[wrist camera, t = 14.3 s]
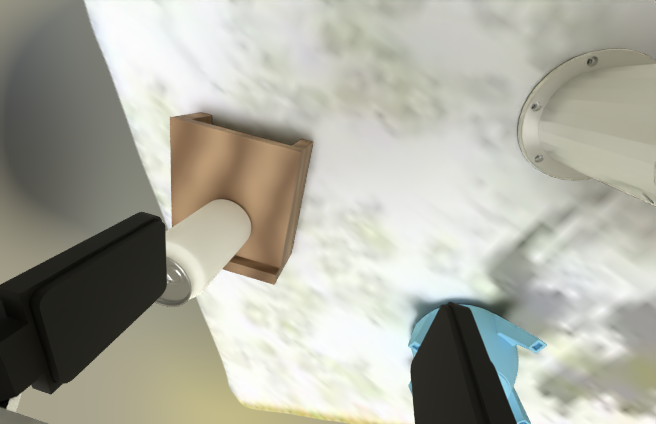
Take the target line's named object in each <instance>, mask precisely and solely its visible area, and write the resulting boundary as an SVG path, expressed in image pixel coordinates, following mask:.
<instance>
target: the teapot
mask: <svg viewBox="0 0 656 424" xmlns="http://www.w3.org/2000/svg"><path fill="white" fill-rule="evenodd" d="M459 305H463V304H459ZM463 306H466V307H469V308H470V309H471V311H472V314H473V316H474V319H475V321H476V324H477V327H478V329H479V332H480V334H481V337H482V340H483V342H484V345H485V348H486V350H487V353H488V355H489V358H490V361H491V362H492V363H493V365H494V366H495V368H496V371H497V373H498V376H499V379H500V381H501V384H502V386H503V389H504V391H505V394H506V397H507V399H508V402H509V404H510V407H511V409H512V412H513V414H514V417H515V420H516V422H517V424H531V422H530V420H529V418H528V416H527V414H526V412H525V410H524V408H523V406H522V403H521V401H520V399H519V397H518V395H517V393H516V391H515V389H514V387H513V386H514V383H515V380H516V376H517V371H518V352H517V346H516V345H519V346H522V347H524V348H527V349H529V350H532V351H533V352H535V353H538V352H539V351H540V350H541V349H543V348H544V347H545V346H547V345H546V343H544V342H543V341H541V340H540V339H539V338H537V337H535V336H533V335H532V334H530V333H528V332H526V331H525V330H523V329H521V328H519V327H517V326H516V325H514V324H512V323H510V322H508V321H507V320H505V319H503V318H501V317H500V316H498V315H496V314H493V313H491V312H489V311H488V310H485V309H482V308H479V307H476V306H471V305H463ZM438 310H439V308H437V309H435V310H433V311H431V312H430V313H428V314H427V315H425V316H424V317H423V318H422V319H421V320H420V321H419V322H418V323H416V326H415V328H414V330H413V332H412V336H411V339H410V342H409V344H408V347H410V348H411V349H412V353H413V356H414V357H415V355H416V353H417V351H418V349H419V347H420V345H421V343H422V341H423V339H424V337H425V335H426V333H427V332H428V330H429V328H430V326H431V324H432V322H433V320H434V318H435V316H436V314H437V312H438ZM409 388H410V391H411V393H412V384H411V382H410V384H409Z"/></svg>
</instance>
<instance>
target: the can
mask: <svg viewBox="0 0 656 424" xmlns="http://www.w3.org/2000/svg"><path fill="white" fill-rule="evenodd" d="M165 234H166V268H167V287H166V290H165V292H164V293H163V294H162V296H161V297H159V298H158V299H157V300H156V301H155V303H157V304H160V305H163V306H167V307H177V306H181V305H183V304H185V303H186V302H187V301H188V300H189V299H192V298H194V297H196V296H197V295H199V294H200V293H201V292H202V291H203V290H204V289H205V288H206V287H207V286H208V285H209V283H210V282H211V281H212V280H213V279H214V278H215V277H216V276H217V274H218V273H219V272H220V271H221V270H222V269H223V268H224V266H225V265H226V264H227V263H228V262H229V261H230V260H231V259H232V257H233V256H234V255H235V254H236V253H237V252H238V251H239V249H240V248H241V247H242V246H243V245H244V244H245V242H246V241H247V240H248V238H249V237H250V234H251V221H250V219H249V217H248V215H247V214H246V212H245V211H244V210H243V209H242V208H241V207H240V206H239V205H238V204H236V203H234V202H232V201H229V200H225V199H217V200H214V201H211V202H210V203H208V204H206V205H205V206H203V207H202V208H200V209H199V210H197V211H196V212H194V213H193V214H191V215H190V216H188V217H187V218H185V219H184V220H182V221H181V222H179V223H178V224H176V225H175V226H173V227H172V228H171V229H169V230H168V231H166V232H165Z"/></svg>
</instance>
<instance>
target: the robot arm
mask: <svg viewBox="0 0 656 424" xmlns="http://www.w3.org/2000/svg"><path fill="white" fill-rule="evenodd" d="M588 60H589V63H588V64H587V61H588ZM533 104H535V107H534V108H533V109H532V105H533ZM518 141H519V145H520V148H521V151H522V153H523V154H524V156H525V158H526V159H527V161H528V162H529V163H530V164H531V165H532V166H533V167H535V168H536V169H538V170H539V171H541V172H543V173H545V174H547V175H549V176H551V177H555V178H559V179H564V180H583V179H590V178H594V179H596V180H598V181H600V182H602V183H605V184H607V185H609V186H611V187H614V188H616V189H618V190H620V191H622V192H625V193H627V194H629V195H631V196H634V197H636V198H638V199H640V200H642V201H645V202H647V203H649V204H651V205H654V206H656V61H655V60H653V59H652V58H650V57H649V56H647V55H646V54H643V53H640V52H637V51H634V50H628V49H619V48H618V49H605V50H599V51H594V52H589V53H586V54H583V55H581V56H578V57H575V58H573V59H571V60H569V61H567V62H566V63H564V64H562V65H560V66H559V67H558V68H556V69H555V70H553V71H552V72H551V73H549V74H548V75H547V76H546V77H545V78H544V79H543V80H542V81H541V82H540V83H539V84H538V85H537V86H536V88H535V89H534V90H533V92H532V93H531V94H530V96H529V98H528V99H527V101H526V103H525V105H524V107H523V110H522V113H521V116H520V119H519V125H518ZM536 156H537V158H536V159H535V157H536ZM166 287H167V268H166V234H165V224H164V223H163V222H162V220H161V218H160V217H158V216H155V215H152V214H148V213H145V212H139V213H137V214H135V215H133V216H131V217H129V218H127V219H125V220H123V221H122V222H120V223H118V224H116V225H114V226H112V227H110V228H108V229H106V230H104V231H102V232H100V233H98V234H97V235H95V236H93V237H91V238H89V239H87V240H85V241H83V242H81V243H79V244H77V245H75V246H74V247H72V248H70V249H68V250H66V251H64V252H62V253H60V254H58V255H56V256H54V257H53V258H50V259H49V260H47V261H45V262H43V263H41V264H39V265H37V266H35V267H33V268H31V269H29V270H28V271H26V272H24V273H22V274H20V275H18V276H16V277H14V278H12V279H10V280H8V281H6V282H5V283H3V284H1V285H0V424H47V423H44V422H42V421H39V420H36V419H33V418H30V417H27V416H24V415H21V414H19V413H16V410H17V407H18V403H19V400H20V397H21V394H22V392H23V391H24V390H25V389H26V388H28V387H29V386H30V385H32V387H33V388H34V389H37V390H40V391H42V392H45V393H49V394H52V393H53V392H54V391H55V390H56V389H58V388H59V387H60V386H61V385H62V384H63V383H68V382H70V381H71V380H73V379H74V378H75V377H76V376H77V375H78V374H79V373H80V372H81V371H82V370H83V369H84V368H85V367H87V366H88V365H89V364H90V363H91V362H92V361H93V360H94V359H95V358H96V357H97V356H98V355H99V354H100V353H101V352H102V351H103V350H105V348H107V347H108V346H109V345H110V344H111V343H112V342H113V341H114V340H115V339H116V338H117V337H118V336H119V335H120V334H121V333H122V332H123V331H125V330H126V329H127V328H128V327H129V326H130V325H131V324H132V323H133V322H134V321H135V320H136V319H137V318H138V317H139V316H140V315H142V313H143V312H145V311H146V310H147V309H148V308H149V307H150V306H151V305H152V304H153V303H154V302H155V301H156V300H157V299H158V298H159V297H161V296H162V294H163V293H164V292H165V290H166ZM411 384H412V395H413V406H414V417H415V424H517V422H516V420H515V417H514V414H513V412H512V409H511V407H510V404H509V402H508V399H507V397H506V394H505V391H504V389H503V386H502V384H501V381H500V379H499V376H498V373H497V371H496V368H495V366H494V365H493V363H492V362H491V361H490V358H489V355H488V353H487V350H486V348H485V345H484V342H483V340H482V337H481V334H480V332H479V329H478V327H477V324H476V321H475V319H474V316H473V314H472V311H471V309H470V308H469V307H466V306H463V305H459V304H456V303H452V302H449V303H448V304H447V305H442V306H441V307H440V308H439V310H438V312H437V314H436V316H435V318H434V320H433V322H432V324H431V326H430V328H429V330H428V332H427V333H426V335H425V337H424V339H423V341H422V343H421V345H420V347H419V349H418V351H417V353H416V355H415V357H414V359H413V361H412V364H411Z"/></svg>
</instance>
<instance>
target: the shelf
mask: <svg viewBox="0 0 656 424" xmlns="http://www.w3.org/2000/svg"><path fill="white" fill-rule="evenodd" d="M170 145H171V200H172V227H173V226H175V225H176V224H178V223H179V222H181V221H182V220H184V219H185V218H187V217H188V216H190V215H191V214H193V213H194V212H196V211H197V210H199V209H200V208H202V207H203V206H205V205H206V204H208V203H210V202H211V201H214V200H217V199H225V200H229V201H232V202H234V203H236V204H238V205H239V206H240V207H241V208H242V209H243V210H244V211H245V212H246V214H247V215H248V217H249V219H250V221H251V234H250V237H249V238H248V240H247V241H246V242H245V244H244V245H243V246H242V247H241V248H240V249H239V251H238V252H237V253H236V254H235V255H234V256H233V257H232V259H231V260H230V261H229V262H228V263H227V264H226V265H225V266H224V268H223V269H224V270H227V271H230V272H234V273H237V274H240V275H244V276H247V277H250V278H254V279H257V280H260V281H264V282H267V283H270V284H275V283H276V281H277V279H278V277H279V275H280V273H281V272H282V270H283V268H284V266H285V264H286V263H287V261H288V259H289V257H290V255H291V253H292V248H293V243H294V238H295V233H296V228H297V223H298V218H299V213H300V208H301V202H302V197H303V192H304V187H305V182H306V177H307V172H308V167H309V162H310V157H311V152H312V147H313V142H312V141H308V140H304V139H301V140H300V141H298V142H296V143H295V144H293V145H292V146H290V145H287V144H283V143H279V142H275V141H272V140H268V139H264V138H260V137H256V136H253V135H249V134H245V133H241V132H238V131H234V130H230V129H226V128H223V127H219V126H215V125H212V115H209V114H205V113H194V114H188V115H181V116H175V117H170Z"/></svg>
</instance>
